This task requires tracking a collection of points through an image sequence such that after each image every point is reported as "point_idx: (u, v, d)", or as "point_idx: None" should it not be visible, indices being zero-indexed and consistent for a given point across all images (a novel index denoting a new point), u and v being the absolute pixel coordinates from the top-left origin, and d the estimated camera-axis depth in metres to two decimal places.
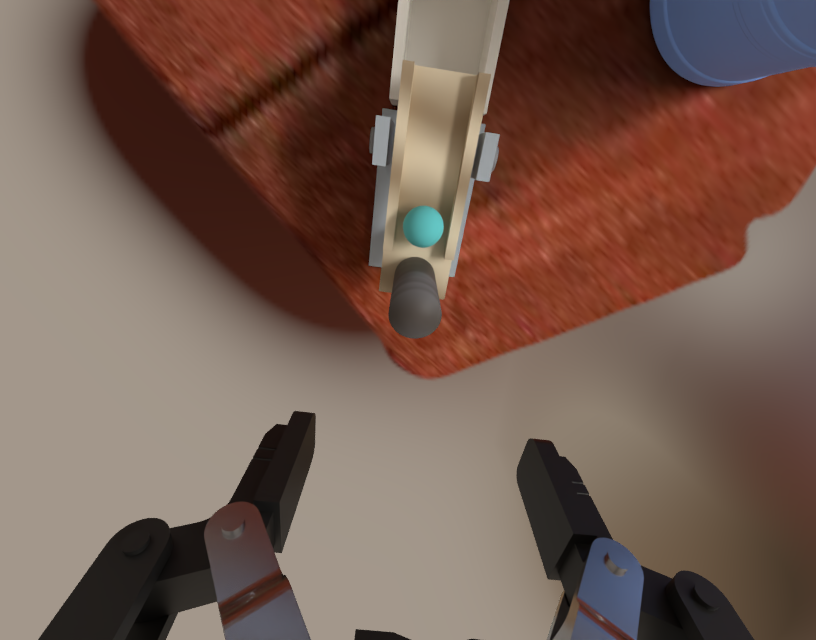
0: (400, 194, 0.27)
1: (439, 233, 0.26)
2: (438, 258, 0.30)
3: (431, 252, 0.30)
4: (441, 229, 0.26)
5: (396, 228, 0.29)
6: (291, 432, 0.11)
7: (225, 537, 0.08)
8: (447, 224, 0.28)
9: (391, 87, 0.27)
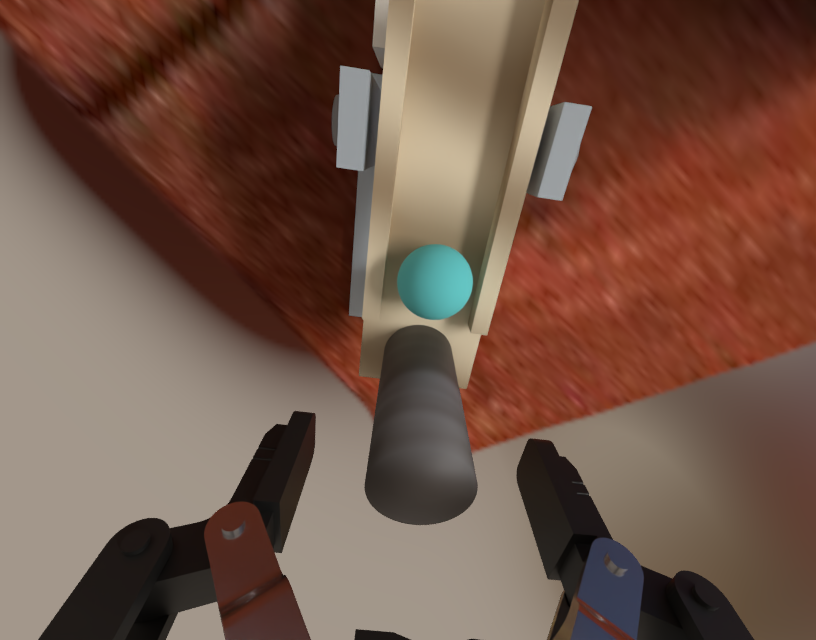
0: (392, 221, 0.15)
1: (466, 298, 0.14)
2: (459, 327, 0.17)
3: (447, 318, 0.17)
4: (469, 290, 0.14)
5: (386, 279, 0.16)
6: (291, 432, 0.11)
7: (225, 537, 0.08)
8: (476, 272, 0.16)
9: (376, 24, 0.15)
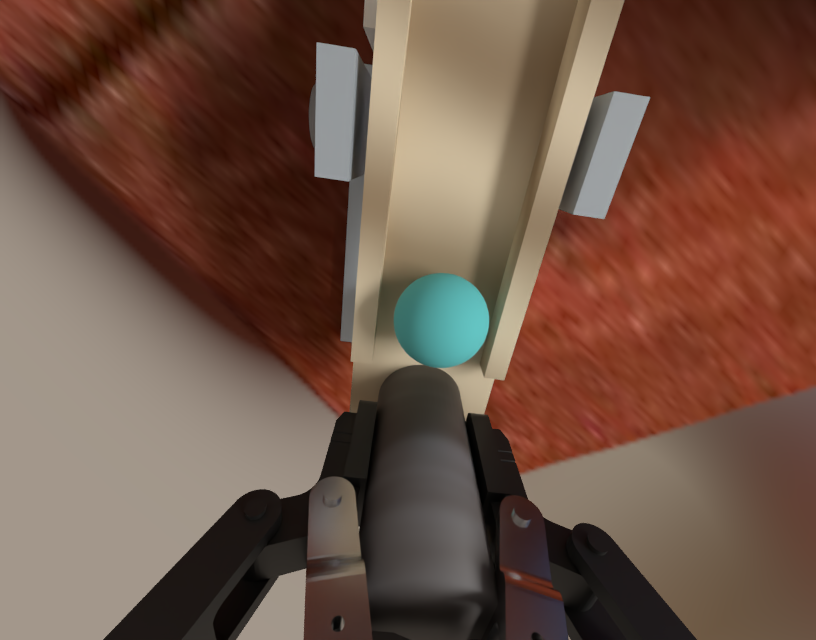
0: (388, 242, 0.12)
1: (481, 343, 0.11)
2: (469, 367, 0.14)
3: None
4: (485, 332, 0.11)
5: (380, 311, 0.13)
6: (362, 418, 0.12)
7: (329, 506, 0.09)
8: (491, 304, 0.13)
9: None
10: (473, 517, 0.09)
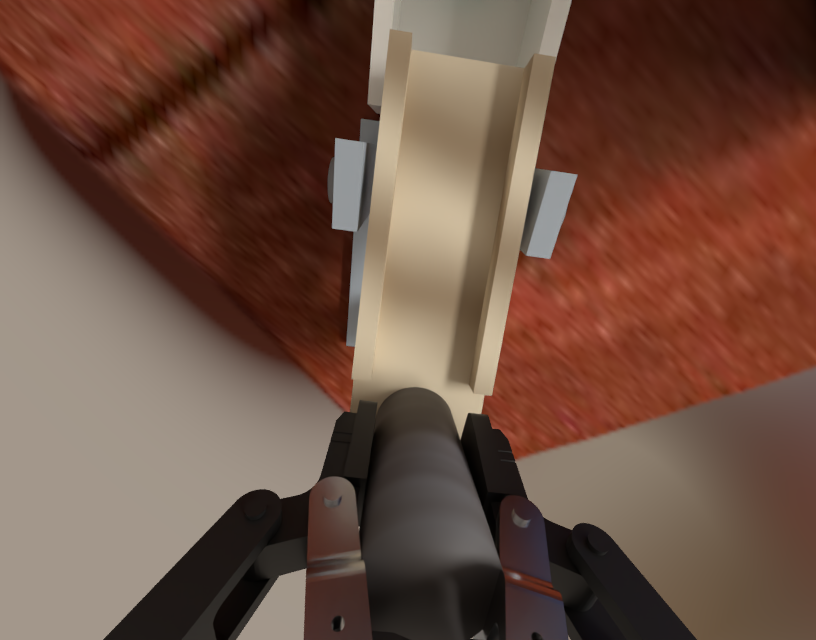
0: (386, 273, 0.15)
1: None
2: (459, 389, 0.16)
3: (446, 378, 0.16)
4: None
5: (379, 335, 0.15)
6: (362, 418, 0.12)
7: (329, 506, 0.09)
8: (475, 327, 0.15)
9: (371, 84, 0.15)
10: (469, 491, 0.10)
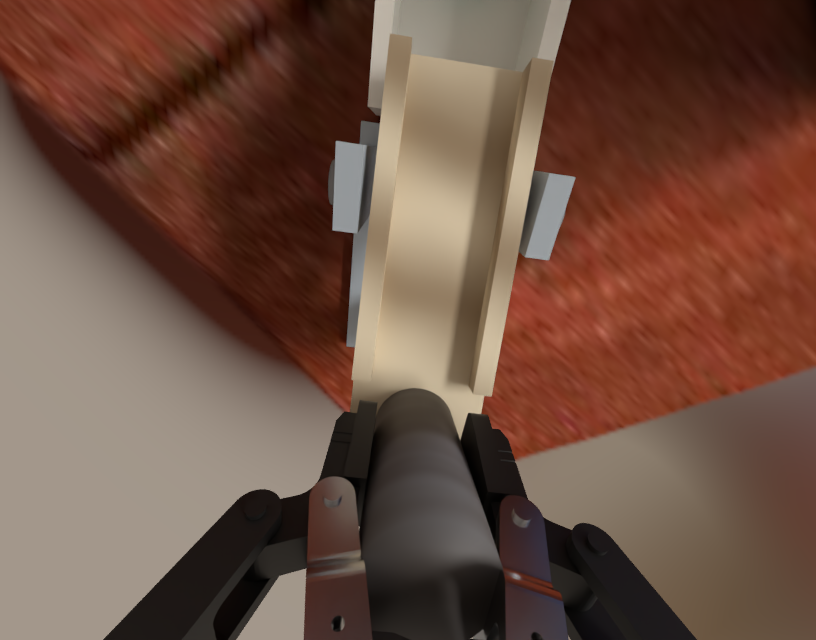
0: (386, 275, 0.15)
1: None
2: (459, 390, 0.16)
3: (445, 379, 0.16)
4: None
5: (379, 336, 0.15)
6: (362, 418, 0.12)
7: (329, 506, 0.09)
8: (475, 328, 0.15)
9: (371, 87, 0.16)
10: (469, 490, 0.10)
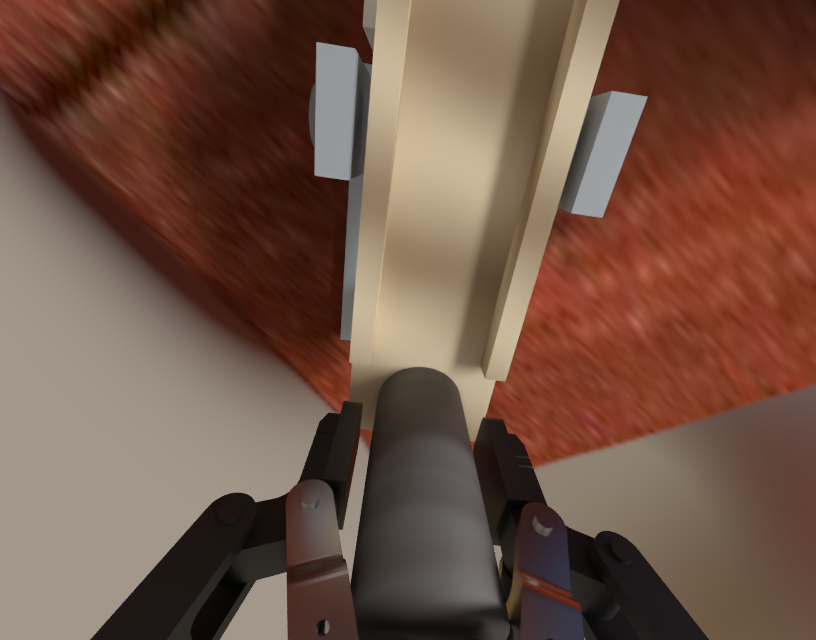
0: (387, 241, 0.12)
1: None
2: (469, 369, 0.14)
3: (455, 358, 0.14)
4: None
5: (380, 312, 0.13)
6: (345, 419, 0.12)
7: (306, 510, 0.09)
8: (491, 304, 0.13)
9: None
10: (476, 519, 0.09)
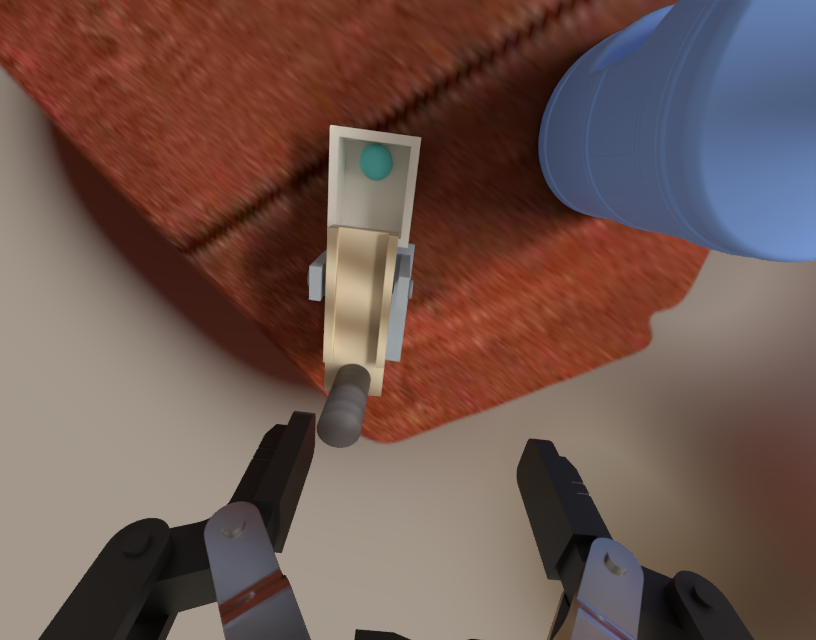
0: (336, 317, 0.33)
1: (388, 174, 0.34)
2: (372, 364, 0.35)
3: (366, 360, 0.35)
4: None
5: (335, 342, 0.34)
6: (291, 432, 0.11)
7: (225, 537, 0.08)
8: (377, 338, 0.34)
9: None
10: (356, 405, 0.29)
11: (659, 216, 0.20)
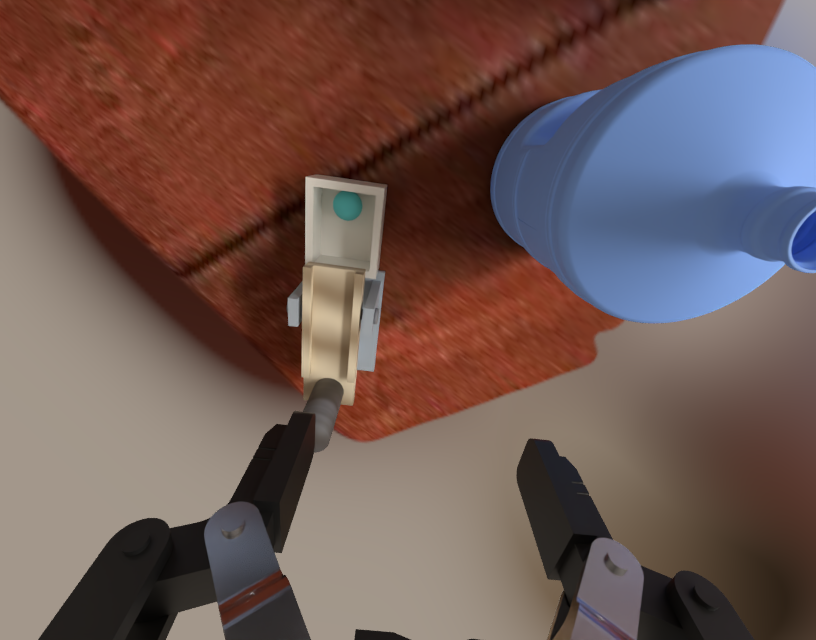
0: (312, 339, 0.38)
1: (359, 214, 0.39)
2: (344, 379, 0.40)
3: (339, 375, 0.40)
4: (359, 214, 0.38)
5: (312, 360, 0.39)
6: (291, 432, 0.11)
7: (225, 537, 0.08)
8: (348, 357, 0.39)
9: (306, 263, 0.38)
10: (326, 417, 0.35)
11: None
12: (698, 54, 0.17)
